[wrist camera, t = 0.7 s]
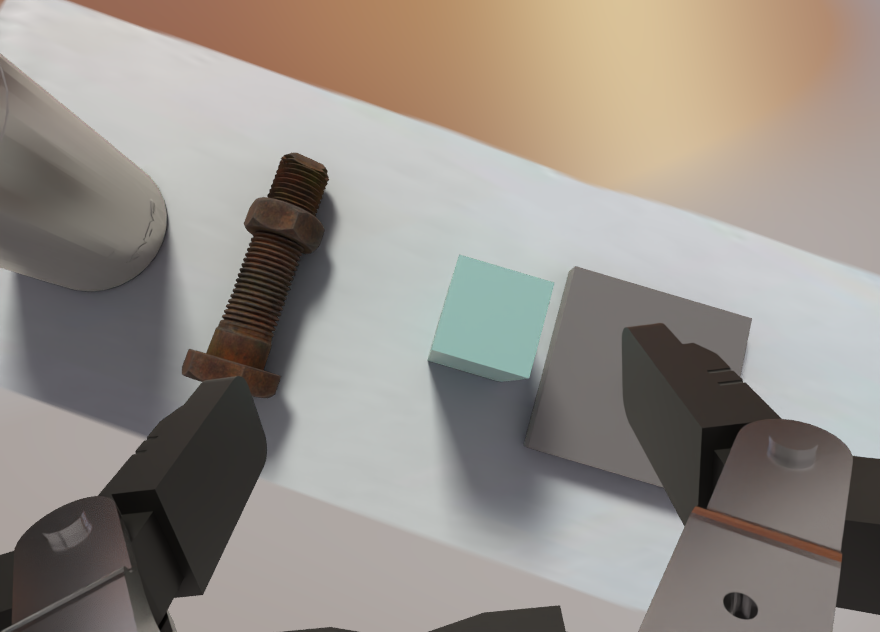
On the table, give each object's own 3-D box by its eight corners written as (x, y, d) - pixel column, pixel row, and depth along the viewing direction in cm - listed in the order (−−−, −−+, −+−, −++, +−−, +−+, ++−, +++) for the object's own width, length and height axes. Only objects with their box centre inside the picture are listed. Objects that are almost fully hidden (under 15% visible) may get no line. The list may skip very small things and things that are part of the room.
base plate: (523, 445, 35) (539, 453, 30) (568, 271, 37) (590, 254, 32) (701, 497, 35) (743, 513, 30) (738, 321, 37) (783, 311, 32)
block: (427, 360, 35) (431, 349, 26) (448, 288, 36) (459, 254, 27) (500, 382, 35) (529, 378, 26) (520, 309, 36) (554, 282, 27)
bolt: (327, 189, 39) (255, 392, 36) (259, 156, 36) (176, 371, 34) (359, 170, 34) (279, 404, 31) (282, 130, 31) (188, 379, 29)
